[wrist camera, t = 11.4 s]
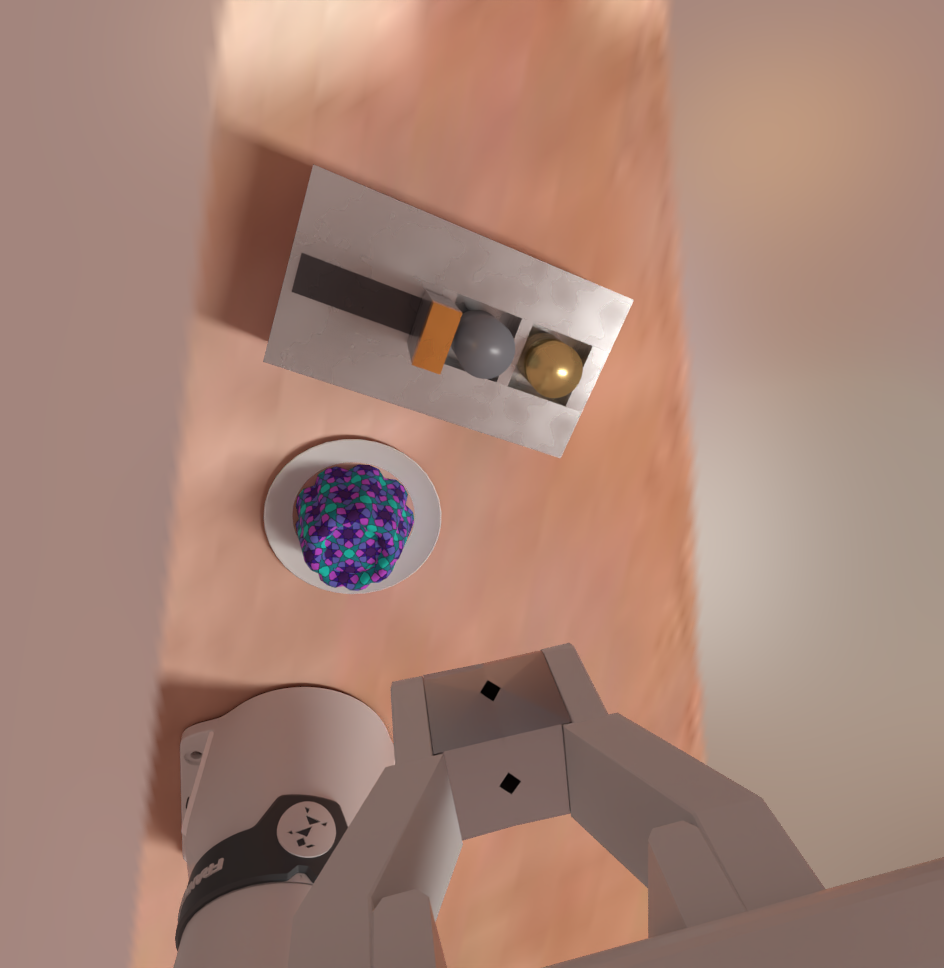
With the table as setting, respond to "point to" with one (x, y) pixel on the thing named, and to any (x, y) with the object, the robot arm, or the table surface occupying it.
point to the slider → (433, 332)
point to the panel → (396, 300)
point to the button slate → (483, 344)
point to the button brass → (550, 365)
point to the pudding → (352, 517)
